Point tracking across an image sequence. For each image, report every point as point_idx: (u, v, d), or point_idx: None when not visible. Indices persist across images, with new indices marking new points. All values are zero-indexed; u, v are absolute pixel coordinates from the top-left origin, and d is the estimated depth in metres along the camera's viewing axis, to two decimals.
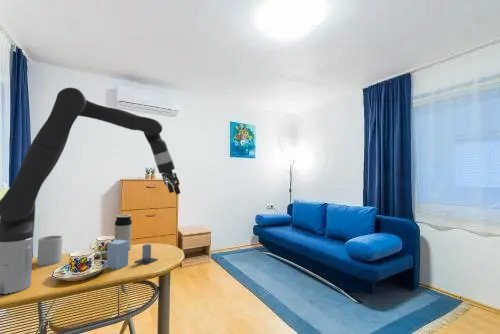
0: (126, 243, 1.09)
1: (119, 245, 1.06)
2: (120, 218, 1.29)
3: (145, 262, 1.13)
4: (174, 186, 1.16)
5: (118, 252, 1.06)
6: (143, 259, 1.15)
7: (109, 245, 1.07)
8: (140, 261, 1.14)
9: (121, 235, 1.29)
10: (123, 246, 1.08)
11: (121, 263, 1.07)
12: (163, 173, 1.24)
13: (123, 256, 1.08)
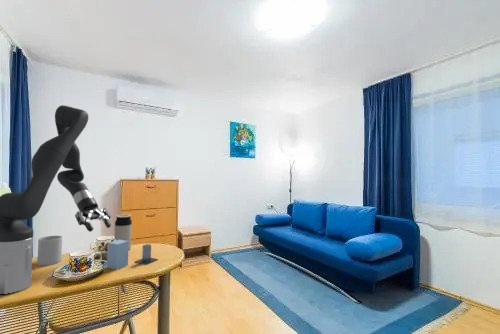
0: (126, 243, 1.09)
1: (119, 245, 1.06)
2: (120, 218, 1.29)
3: (145, 262, 1.13)
4: (108, 218, 1.19)
5: (118, 252, 1.06)
6: (143, 259, 1.15)
7: (109, 245, 1.07)
8: (140, 261, 1.14)
9: (121, 235, 1.29)
10: (123, 246, 1.08)
11: (121, 263, 1.07)
12: None
13: (123, 256, 1.08)
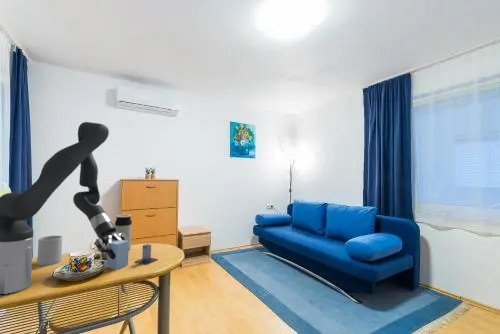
0: (126, 243, 1.09)
1: (119, 245, 1.06)
2: (120, 218, 1.29)
3: (145, 262, 1.13)
4: None
5: (118, 252, 1.06)
6: (143, 259, 1.15)
7: None
8: (140, 261, 1.14)
9: None
10: (123, 246, 1.08)
11: (122, 263, 1.07)
12: (97, 239, 1.05)
13: (123, 256, 1.08)
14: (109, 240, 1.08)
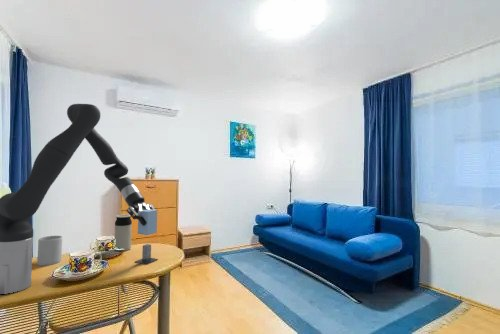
0: (155, 212, 1.17)
1: (149, 212, 1.13)
2: (120, 218, 1.29)
3: (145, 262, 1.13)
4: None
5: (148, 219, 1.13)
6: (143, 259, 1.15)
7: None
8: (140, 261, 1.14)
9: (121, 235, 1.29)
10: (153, 214, 1.15)
11: (151, 230, 1.15)
12: (129, 207, 1.13)
13: (153, 223, 1.15)
14: (140, 208, 1.15)
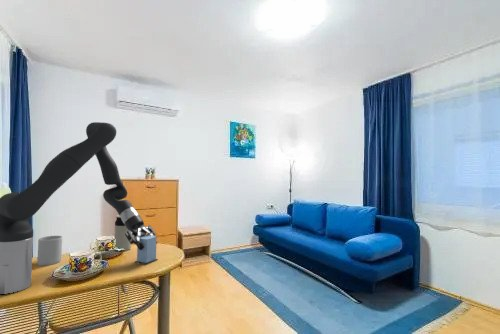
0: (154, 238, 1.17)
1: (149, 240, 1.13)
2: (120, 218, 1.29)
3: None
4: (153, 235, 1.21)
5: (148, 247, 1.13)
6: None
7: (139, 240, 1.14)
8: None
9: (121, 235, 1.29)
10: (152, 241, 1.15)
11: (151, 257, 1.15)
12: (127, 231, 1.13)
13: (152, 250, 1.15)
14: (138, 232, 1.15)
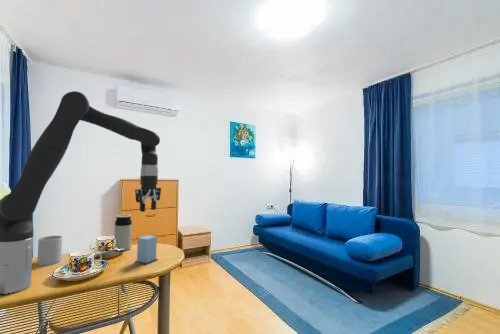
0: (154, 238, 1.17)
1: (149, 240, 1.13)
2: (120, 218, 1.29)
3: None
4: None
5: (148, 247, 1.13)
6: None
7: (139, 240, 1.14)
8: None
9: (121, 235, 1.29)
10: (152, 241, 1.15)
11: (151, 257, 1.15)
12: None
13: (152, 250, 1.15)
14: None
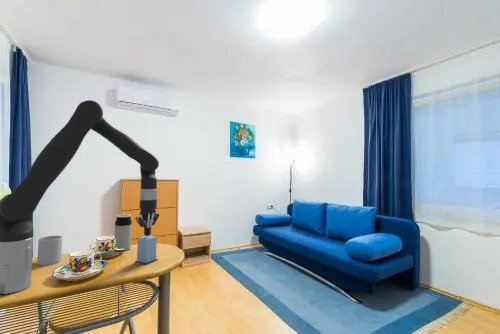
0: (154, 238, 1.17)
1: (149, 240, 1.13)
2: (120, 218, 1.29)
3: None
4: (143, 226, 1.15)
5: (148, 247, 1.13)
6: None
7: (139, 240, 1.14)
8: None
9: (121, 235, 1.29)
10: (152, 241, 1.15)
11: (151, 257, 1.15)
12: None
13: (152, 250, 1.15)
14: None
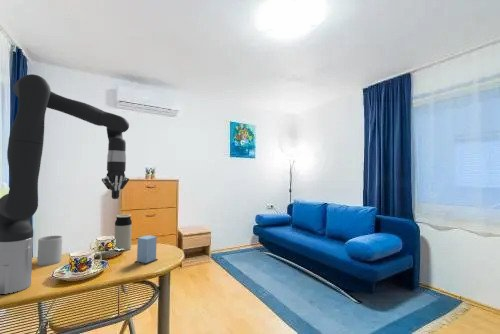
0: (154, 238, 1.17)
1: (149, 240, 1.13)
2: (120, 218, 1.29)
3: None
4: (111, 189, 1.13)
5: (148, 247, 1.13)
6: None
7: (139, 240, 1.14)
8: None
9: (121, 235, 1.29)
10: (152, 241, 1.15)
11: (151, 257, 1.15)
12: (125, 178, 1.19)
13: (152, 250, 1.15)
14: None
